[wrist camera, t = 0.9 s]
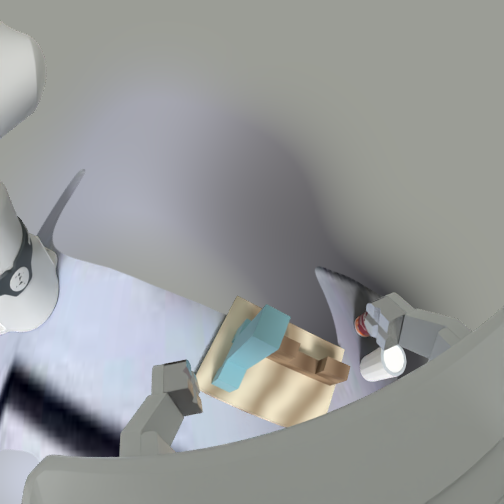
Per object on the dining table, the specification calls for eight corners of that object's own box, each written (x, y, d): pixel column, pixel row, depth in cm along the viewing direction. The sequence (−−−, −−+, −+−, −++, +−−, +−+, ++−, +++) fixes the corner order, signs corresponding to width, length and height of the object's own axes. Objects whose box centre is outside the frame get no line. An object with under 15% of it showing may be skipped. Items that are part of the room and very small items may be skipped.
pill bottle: (351, 316, 54) (377, 298, 47) (368, 316, 55) (394, 299, 49) (355, 338, 51) (382, 322, 45) (373, 337, 53) (400, 322, 46)
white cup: (381, 387, 46) (406, 378, 41) (355, 381, 46) (379, 372, 40) (383, 356, 51) (406, 345, 45) (358, 348, 50) (381, 336, 45)
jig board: (190, 385, 38) (195, 379, 33) (235, 299, 48) (245, 281, 43) (314, 436, 38) (336, 436, 33) (340, 351, 48) (360, 340, 43)
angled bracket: (211, 383, 37) (240, 361, 25) (237, 329, 44) (275, 282, 31) (229, 392, 37) (268, 375, 25) (254, 337, 44) (298, 295, 31)
